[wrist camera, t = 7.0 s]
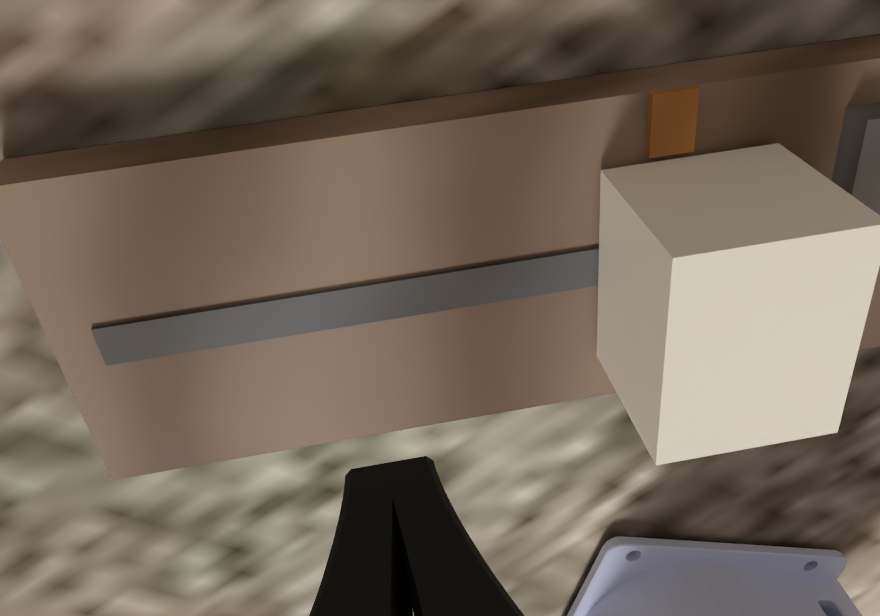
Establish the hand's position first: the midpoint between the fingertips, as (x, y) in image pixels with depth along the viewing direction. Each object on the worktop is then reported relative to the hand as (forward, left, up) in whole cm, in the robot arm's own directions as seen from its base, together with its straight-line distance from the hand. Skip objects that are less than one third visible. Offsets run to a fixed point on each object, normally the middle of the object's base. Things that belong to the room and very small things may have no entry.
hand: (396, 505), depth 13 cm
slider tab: (-7, -3, -6) cm, 9 cm away
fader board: (-3, -1, -8) cm, 8 cm away
